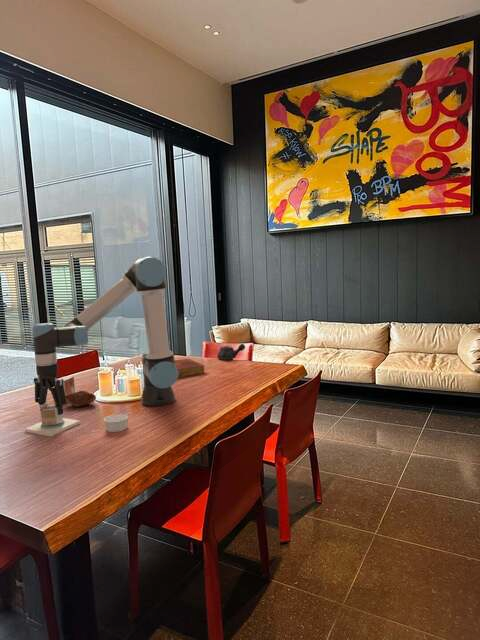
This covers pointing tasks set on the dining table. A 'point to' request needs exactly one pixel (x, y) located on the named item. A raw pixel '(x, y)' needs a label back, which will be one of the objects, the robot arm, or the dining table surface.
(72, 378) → the small box
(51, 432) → the post stand
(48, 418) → the maple ring
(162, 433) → the dining table surface
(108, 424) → the ramekin
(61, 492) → the dining table surface
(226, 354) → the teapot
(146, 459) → the dining table surface
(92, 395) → the fossil
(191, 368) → the book
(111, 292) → the robot arm
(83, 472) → the dining table surface
